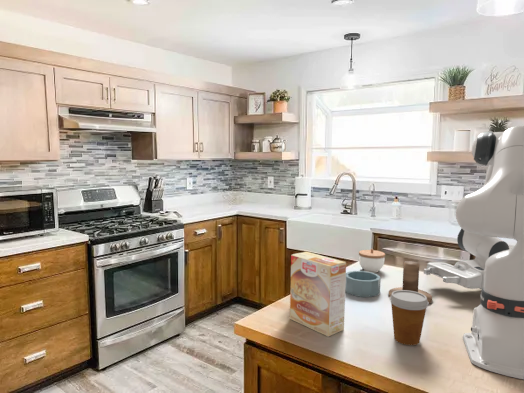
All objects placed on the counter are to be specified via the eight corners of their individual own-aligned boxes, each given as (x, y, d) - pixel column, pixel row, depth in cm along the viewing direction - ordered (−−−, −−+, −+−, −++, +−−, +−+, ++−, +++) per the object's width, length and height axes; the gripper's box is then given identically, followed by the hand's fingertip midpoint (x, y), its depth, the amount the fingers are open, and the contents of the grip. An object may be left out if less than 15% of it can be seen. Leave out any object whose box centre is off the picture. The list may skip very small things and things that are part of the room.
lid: (429, 309, 123) (431, 271, 121) (384, 300, 129) (385, 265, 128) (434, 294, 135) (436, 260, 133) (392, 288, 142) (394, 255, 140)
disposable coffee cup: (402, 351, 95) (405, 304, 94) (380, 334, 105) (382, 291, 103) (434, 346, 98) (437, 300, 97) (410, 329, 107) (412, 288, 106)
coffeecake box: (288, 319, 114) (290, 254, 112) (305, 313, 118) (307, 250, 116) (328, 337, 102) (330, 265, 100) (344, 330, 107) (347, 261, 105)
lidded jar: (385, 275, 157) (386, 252, 156) (358, 273, 159) (359, 251, 159) (382, 268, 168) (383, 246, 167) (357, 266, 170) (358, 245, 169)
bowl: (374, 299, 130) (375, 283, 130) (340, 292, 136) (340, 277, 136) (383, 289, 141) (383, 274, 140) (350, 283, 147) (351, 269, 146)
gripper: (445, 257, 148) (414, 259, 144) (490, 272, 128) (457, 275, 124) (444, 273, 148) (414, 275, 144) (489, 290, 129) (456, 294, 125)
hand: (434, 275), depth 134 cm, fingers open, 8 cm apart
